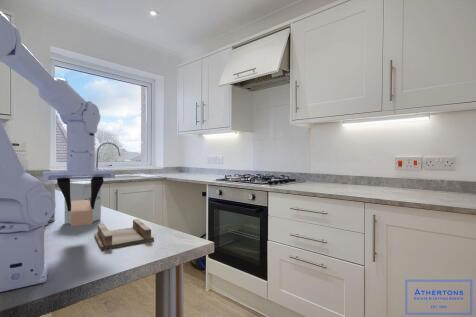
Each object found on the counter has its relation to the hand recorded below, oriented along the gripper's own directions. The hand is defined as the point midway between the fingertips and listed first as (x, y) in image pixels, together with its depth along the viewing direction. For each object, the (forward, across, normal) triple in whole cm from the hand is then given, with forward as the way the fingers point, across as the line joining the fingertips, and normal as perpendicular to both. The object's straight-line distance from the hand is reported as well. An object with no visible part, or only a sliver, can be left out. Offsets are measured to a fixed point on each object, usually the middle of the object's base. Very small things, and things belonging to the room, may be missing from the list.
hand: (81, 209), depth 63 cm
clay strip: (+2, 0, 0) cm, 2 cm away
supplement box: (+9, -1, -24) cm, 26 cm away
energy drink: (+9, +9, -30) cm, 32 cm away
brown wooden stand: (+9, -10, 0) cm, 13 cm away
